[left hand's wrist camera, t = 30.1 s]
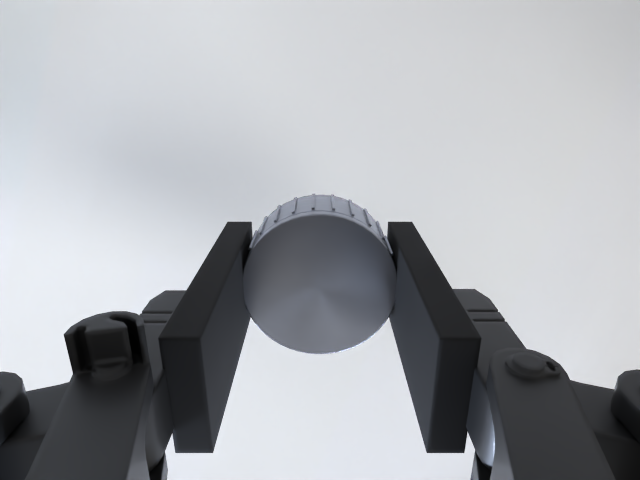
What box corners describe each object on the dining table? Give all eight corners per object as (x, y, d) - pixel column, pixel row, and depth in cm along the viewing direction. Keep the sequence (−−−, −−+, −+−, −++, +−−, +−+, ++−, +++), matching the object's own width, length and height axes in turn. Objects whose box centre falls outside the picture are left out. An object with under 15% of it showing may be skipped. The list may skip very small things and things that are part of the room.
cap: (363, 335, 15) (369, 372, 14) (235, 301, 15) (223, 334, 13) (410, 216, 14) (424, 238, 12) (269, 174, 13) (261, 191, 12)
